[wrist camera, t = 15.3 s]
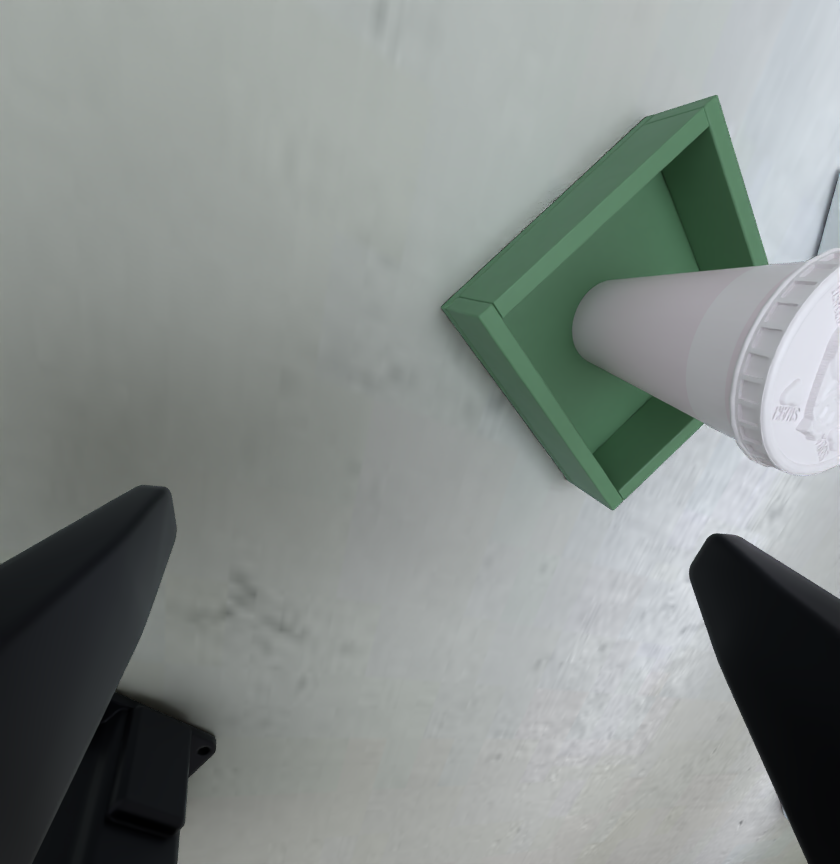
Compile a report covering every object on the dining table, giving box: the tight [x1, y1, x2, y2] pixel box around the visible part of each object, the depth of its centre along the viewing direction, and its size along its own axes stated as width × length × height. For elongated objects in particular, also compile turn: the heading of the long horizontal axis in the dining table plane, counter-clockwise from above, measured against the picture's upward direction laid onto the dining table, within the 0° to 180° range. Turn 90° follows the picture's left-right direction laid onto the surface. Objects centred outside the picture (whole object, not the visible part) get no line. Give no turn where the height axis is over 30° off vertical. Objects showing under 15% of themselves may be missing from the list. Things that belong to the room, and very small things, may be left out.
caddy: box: [441, 95, 769, 510], centre depth 21 cm, size 11×11×3 cm
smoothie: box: [572, 248, 840, 476], centre depth 16 cm, size 6×6×14 cm
